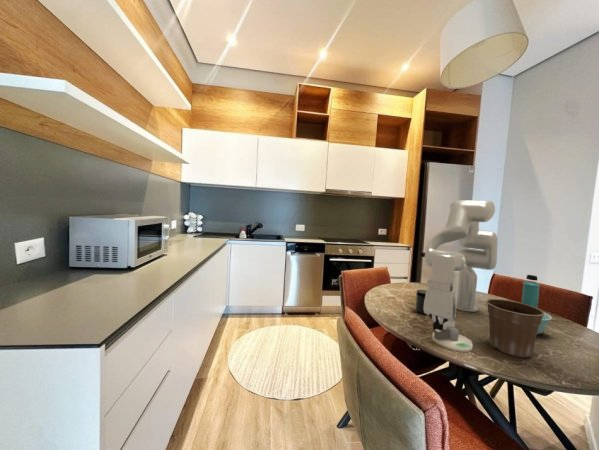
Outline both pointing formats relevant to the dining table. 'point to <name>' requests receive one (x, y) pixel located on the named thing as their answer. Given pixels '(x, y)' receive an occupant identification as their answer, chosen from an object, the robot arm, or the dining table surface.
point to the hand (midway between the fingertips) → (437, 332)
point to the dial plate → (455, 343)
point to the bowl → (544, 323)
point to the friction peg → (447, 333)
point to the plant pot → (513, 326)
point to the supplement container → (420, 301)
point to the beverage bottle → (530, 292)
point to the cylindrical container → (455, 289)
